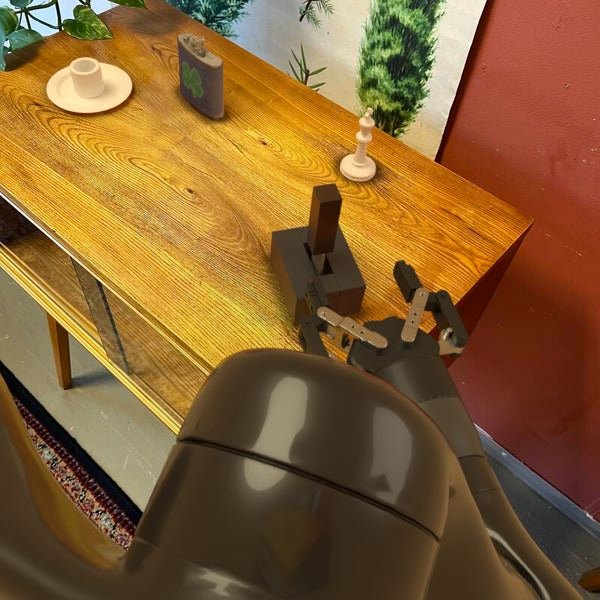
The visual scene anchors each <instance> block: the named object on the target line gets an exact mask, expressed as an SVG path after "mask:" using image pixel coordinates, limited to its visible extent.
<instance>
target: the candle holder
mask: <svg viewBox="0 0 600 600" xmlns="http://www.w3.org/2000/svg"><path fill="white" fill-rule="evenodd" d="M132 91H133V81H132V79H131V77H130V75H129V74H128V73H127V72H125V70H123V69H121V68H120V67H118V66H116V65H113V64H109V63H107V62H106V63H105V62H99V61H98V60H97V59H95V58H93V57H79V58H76V59H74V60H72V61H71V62H70V64H69V65H68V66H66V67H63V68H62V69H60V70H57V72H55V73H54V74H53V75H52V76H51V77H50V78H49V80H48V81H47V84H46V94H47V98H48V99H49V100H50V101H51V102H52V104H54V105H56V107H59V108H61V109H63V110H66V111H69V112H73V113H81V114H82V113H83V114H91V113H93V114H94V113H99V112H104V111H107V110H110V109H114V108H115V107H117V106H119V105H121V104H122V103H124V101H126V100H127V98H128V97H129V96H130V95H131V93H132Z"/></svg>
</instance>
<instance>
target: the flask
mask: <svg viewBox="0 0 600 600" xmlns="http://www.w3.org/2000/svg"><path fill="white" fill-rule="evenodd" d="M176 41H177V42H176V43H177V57H178V72H179V73H178V76H179V94H180V96H181V97H182V98H183V100H184V101H185V102H186V103H187V104H188V105H189V106H190V107H191V108H193V109H194V110H195V111H197V112H198V113H199V114H201V115H202V116H203V117H205V118H206V119H209V120H211V121H214V122H216V121H220V120H221V119H224V115H225V103H224V102H225V101H224V100H225V99H224V61H223V59H222V58H221V57H219V56H217V55H216V54H215V53H212V52H211V51H209V50H208V49H207V48H205V46H204V45H205V44H204V43H205V42H206V39H205V36H201V38H199V36H198V35H197V36H195V35H193V34H191V33H188V32H183V33H180V34H179V35H178V36H177V38H176Z"/></svg>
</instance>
